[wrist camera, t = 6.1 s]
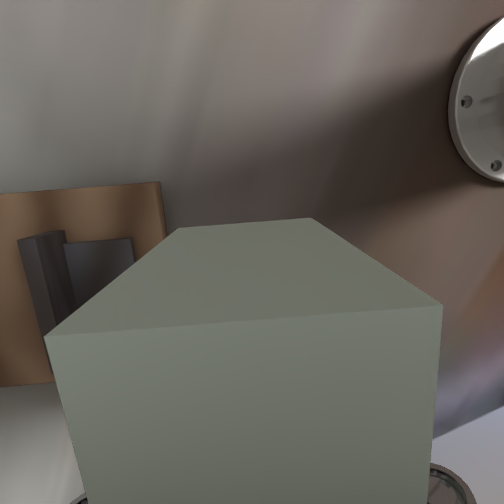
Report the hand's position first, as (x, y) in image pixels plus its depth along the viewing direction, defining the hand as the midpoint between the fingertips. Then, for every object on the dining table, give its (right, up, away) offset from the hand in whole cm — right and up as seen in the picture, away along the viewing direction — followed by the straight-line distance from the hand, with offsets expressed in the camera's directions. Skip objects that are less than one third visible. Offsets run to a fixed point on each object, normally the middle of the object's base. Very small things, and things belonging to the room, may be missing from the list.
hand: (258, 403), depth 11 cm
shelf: (-16, +2, +15) cm, 22 cm away
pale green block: (0, +1, +2) cm, 2 cm away
